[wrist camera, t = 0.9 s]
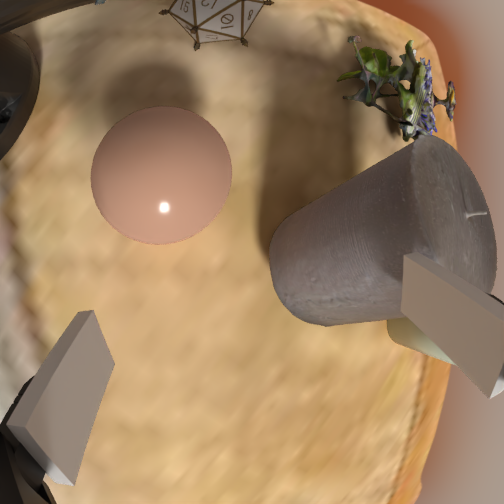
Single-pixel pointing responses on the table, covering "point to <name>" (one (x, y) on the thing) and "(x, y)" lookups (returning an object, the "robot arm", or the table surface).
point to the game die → (216, 18)
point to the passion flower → (401, 88)
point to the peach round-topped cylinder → (161, 175)
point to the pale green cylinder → (414, 338)
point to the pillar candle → (383, 236)
